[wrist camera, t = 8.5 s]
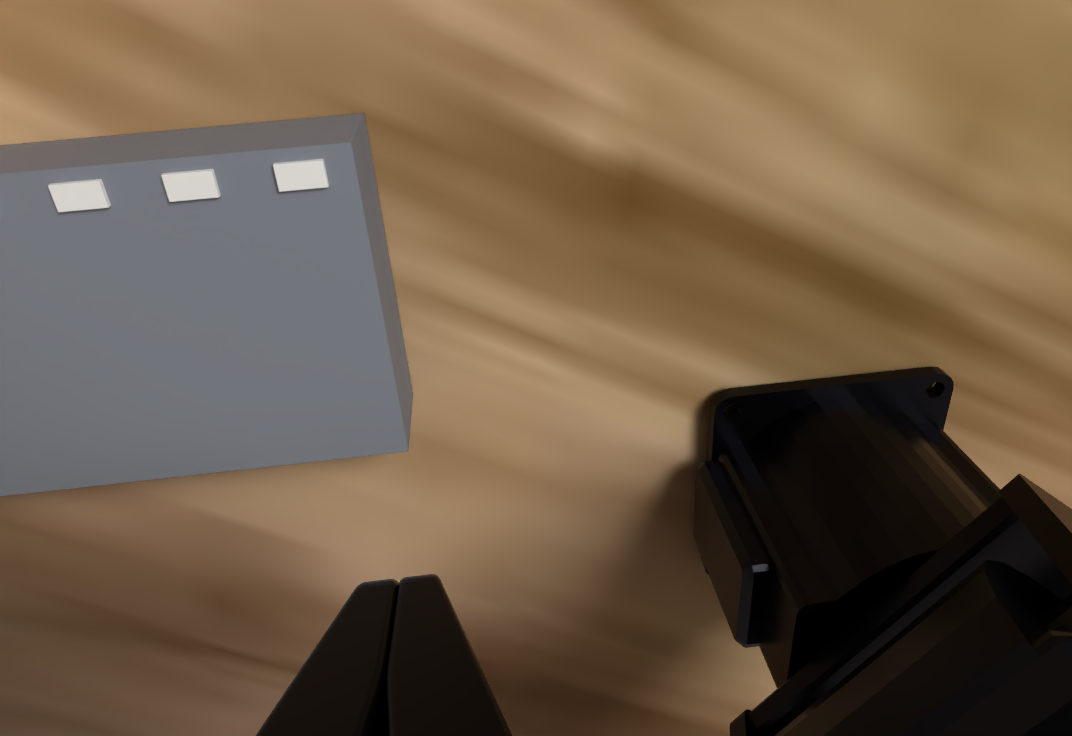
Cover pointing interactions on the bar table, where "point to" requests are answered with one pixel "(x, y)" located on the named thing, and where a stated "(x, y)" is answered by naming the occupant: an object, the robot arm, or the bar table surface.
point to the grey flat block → (195, 305)
